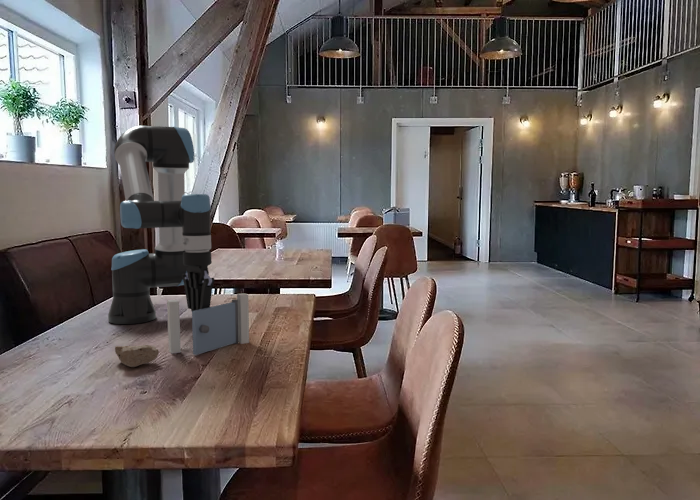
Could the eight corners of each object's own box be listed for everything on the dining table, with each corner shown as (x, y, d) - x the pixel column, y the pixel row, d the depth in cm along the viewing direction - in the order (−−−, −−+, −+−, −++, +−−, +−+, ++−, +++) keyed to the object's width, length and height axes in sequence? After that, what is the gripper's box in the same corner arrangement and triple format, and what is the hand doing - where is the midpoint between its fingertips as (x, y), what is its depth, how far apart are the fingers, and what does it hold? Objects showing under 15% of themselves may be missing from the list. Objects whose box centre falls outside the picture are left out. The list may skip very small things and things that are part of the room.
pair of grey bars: (168, 351, 157) (166, 300, 156) (245, 340, 168) (244, 293, 167) (171, 353, 154) (169, 302, 153) (249, 342, 166) (248, 294, 164)
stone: (124, 371, 138) (121, 351, 138) (116, 362, 148) (112, 343, 148) (162, 361, 143) (159, 342, 142) (151, 353, 153) (148, 335, 152)
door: (192, 355, 153) (191, 308, 151) (235, 342, 166) (234, 299, 165) (200, 357, 151) (199, 310, 150) (243, 343, 165) (242, 300, 163)
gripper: (172, 250, 159) (174, 333, 161) (197, 253, 150) (200, 342, 152) (196, 248, 164) (198, 329, 166) (222, 251, 155) (224, 337, 158)
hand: (199, 335), depth 159 cm, fingers closed
